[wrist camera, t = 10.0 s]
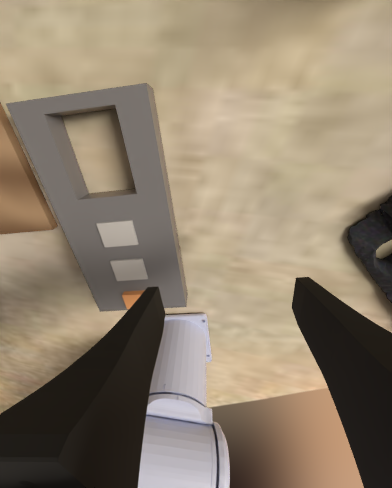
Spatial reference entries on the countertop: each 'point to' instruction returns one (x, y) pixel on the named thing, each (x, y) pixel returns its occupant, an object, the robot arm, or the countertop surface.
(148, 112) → the power strip
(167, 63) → the countertop surface
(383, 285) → the dark slate chunk
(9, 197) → the coaster
